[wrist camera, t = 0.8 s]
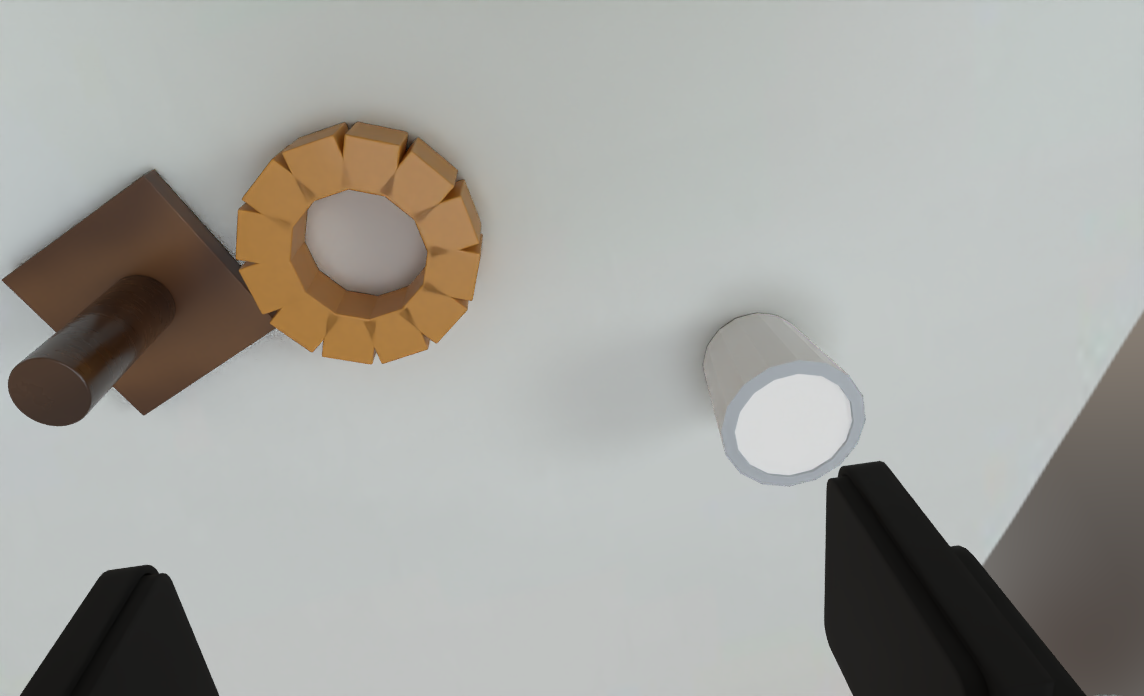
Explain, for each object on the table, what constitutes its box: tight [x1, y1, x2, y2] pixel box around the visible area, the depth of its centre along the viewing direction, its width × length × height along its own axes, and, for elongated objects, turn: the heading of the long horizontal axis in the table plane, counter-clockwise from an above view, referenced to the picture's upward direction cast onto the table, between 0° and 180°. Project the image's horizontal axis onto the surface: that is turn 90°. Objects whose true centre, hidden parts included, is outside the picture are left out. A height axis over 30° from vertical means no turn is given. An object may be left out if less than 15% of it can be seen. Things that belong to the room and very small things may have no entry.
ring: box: [236, 122, 483, 364], centre depth 39 cm, size 11×11×3 cm
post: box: [2, 170, 277, 426], centre depth 36 cm, size 9×9×10 cm
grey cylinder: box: [703, 313, 866, 486], centre depth 41 cm, size 7×7×7 cm
